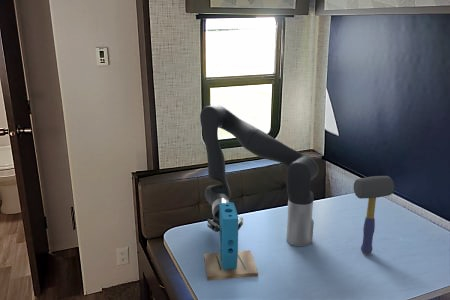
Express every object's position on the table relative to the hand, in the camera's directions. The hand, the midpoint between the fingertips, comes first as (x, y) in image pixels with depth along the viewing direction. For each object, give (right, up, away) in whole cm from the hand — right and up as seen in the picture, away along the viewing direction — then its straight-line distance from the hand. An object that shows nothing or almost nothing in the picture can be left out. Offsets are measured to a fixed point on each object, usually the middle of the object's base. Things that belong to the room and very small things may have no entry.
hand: (228, 235), depth 147 cm
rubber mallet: (+51, -9, +12) cm, 53 cm away
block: (0, -10, +4) cm, 11 cm away
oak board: (+1, -12, +4) cm, 13 cm away
